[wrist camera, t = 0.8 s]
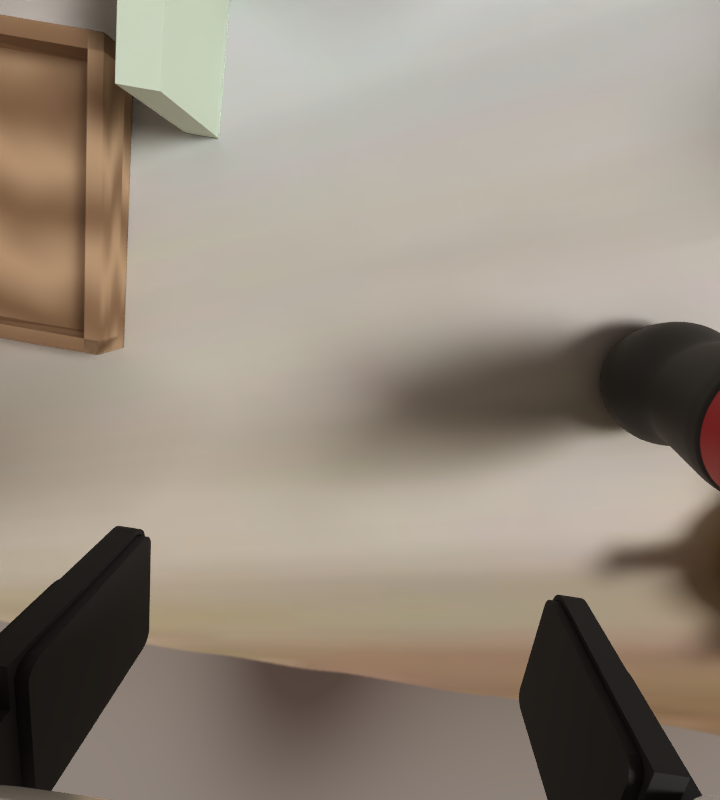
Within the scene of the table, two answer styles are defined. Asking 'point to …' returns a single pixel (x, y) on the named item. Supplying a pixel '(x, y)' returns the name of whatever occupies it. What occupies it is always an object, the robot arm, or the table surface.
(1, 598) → the table surface
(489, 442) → the table surface
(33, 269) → the wooden divided tray
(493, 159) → the table surface
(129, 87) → the door
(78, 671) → the robot arm
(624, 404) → the cola bottle
